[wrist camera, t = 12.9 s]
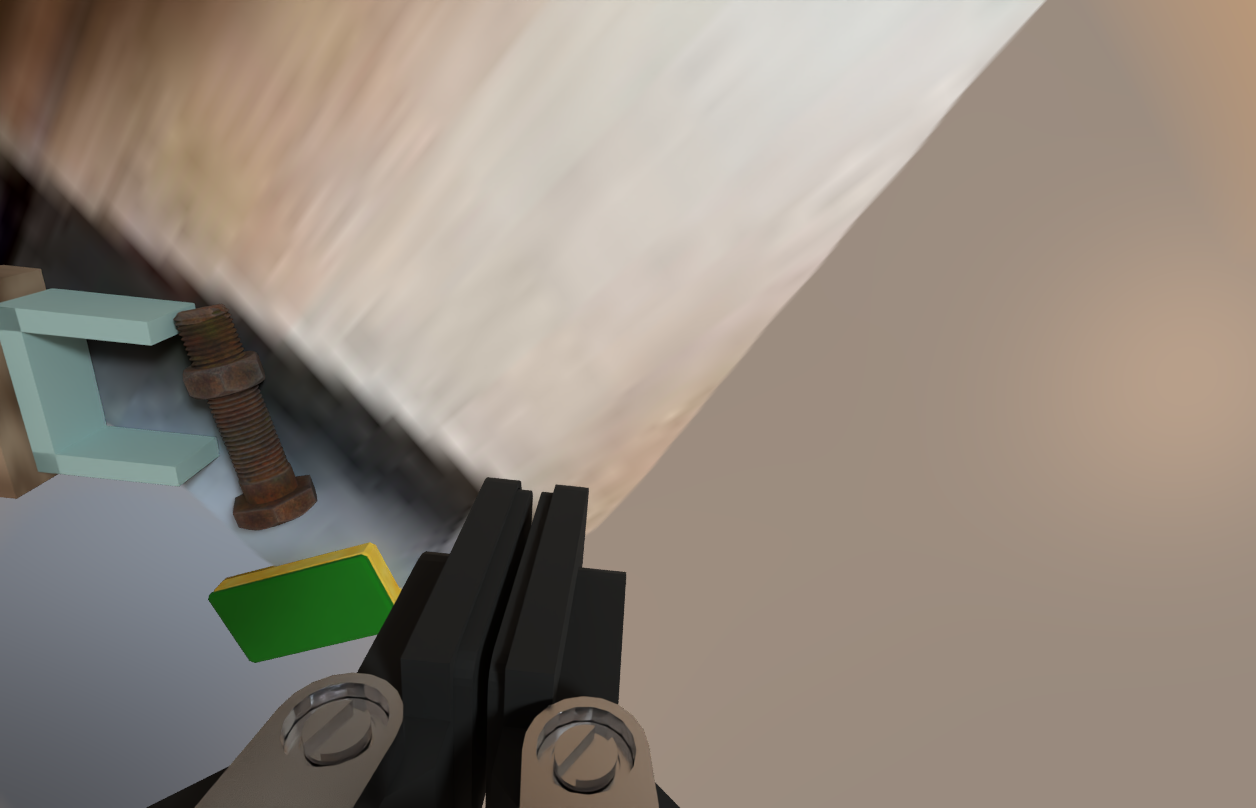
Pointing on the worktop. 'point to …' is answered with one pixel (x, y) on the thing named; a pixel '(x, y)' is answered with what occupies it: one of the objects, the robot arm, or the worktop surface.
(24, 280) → the wooden plank
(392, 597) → the dish sponge
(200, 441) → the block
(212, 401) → the bolt
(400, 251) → the worktop surface
